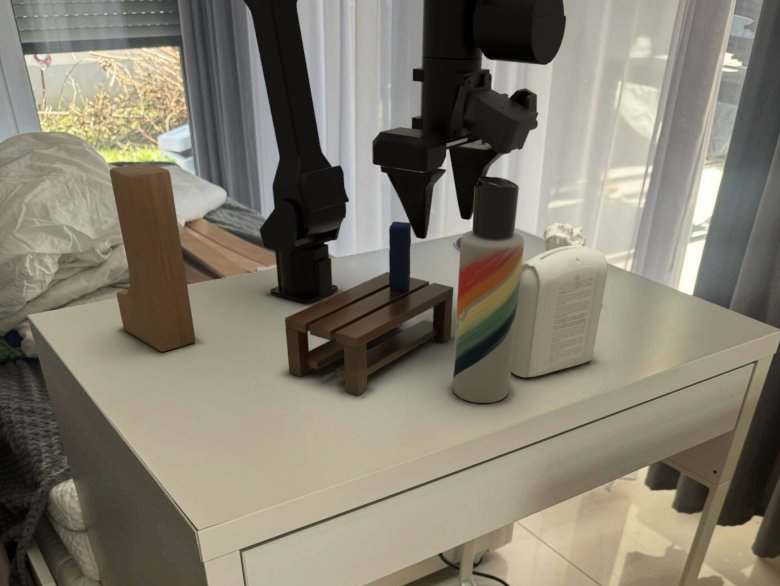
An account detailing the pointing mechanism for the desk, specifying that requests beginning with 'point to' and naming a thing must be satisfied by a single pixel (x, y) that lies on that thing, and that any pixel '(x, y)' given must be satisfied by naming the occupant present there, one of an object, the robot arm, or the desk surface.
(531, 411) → the desk surface
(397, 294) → the rack
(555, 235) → the bust
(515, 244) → the lotion bottle
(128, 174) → the wooden block
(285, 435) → the desk surface
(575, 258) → the photo printer
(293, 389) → the desk surface
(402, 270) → the eraser
